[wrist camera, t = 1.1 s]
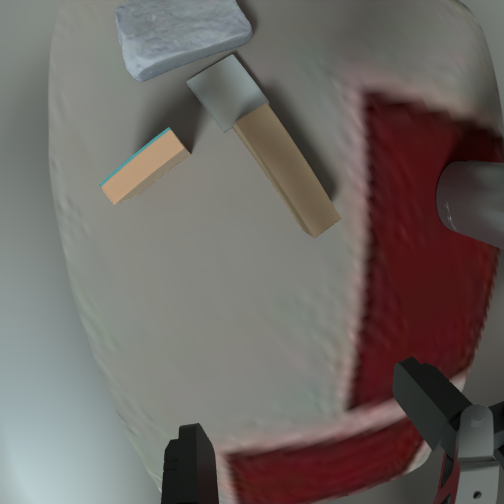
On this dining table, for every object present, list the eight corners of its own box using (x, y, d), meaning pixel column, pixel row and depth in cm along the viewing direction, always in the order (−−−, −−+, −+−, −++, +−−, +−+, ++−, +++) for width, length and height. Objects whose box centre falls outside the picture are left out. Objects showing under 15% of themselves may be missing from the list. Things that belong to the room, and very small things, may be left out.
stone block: (115, 29, 22) (138, 93, 23) (103, 4, 17) (123, 70, 18) (218, -7, 22) (255, 51, 24) (219, -35, 18) (261, 22, 19)
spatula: (231, 57, 23) (235, 43, 20) (333, 207, 29) (349, 212, 25) (186, 84, 23) (184, 73, 20) (294, 236, 29) (305, 244, 26)
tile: (179, 139, 25) (168, 127, 17) (191, 154, 25) (184, 148, 18) (128, 179, 25) (99, 184, 17) (139, 194, 26) (114, 205, 18)
